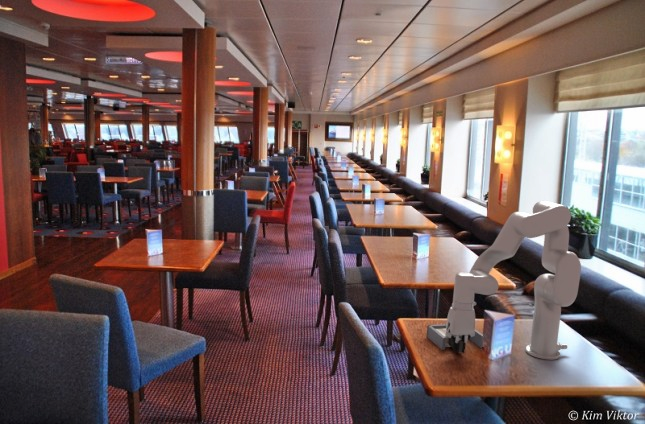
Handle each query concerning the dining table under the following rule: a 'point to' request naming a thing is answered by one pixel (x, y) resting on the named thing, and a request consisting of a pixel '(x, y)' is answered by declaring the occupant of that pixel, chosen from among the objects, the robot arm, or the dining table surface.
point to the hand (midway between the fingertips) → (458, 351)
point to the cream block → (450, 340)
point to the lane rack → (441, 340)
